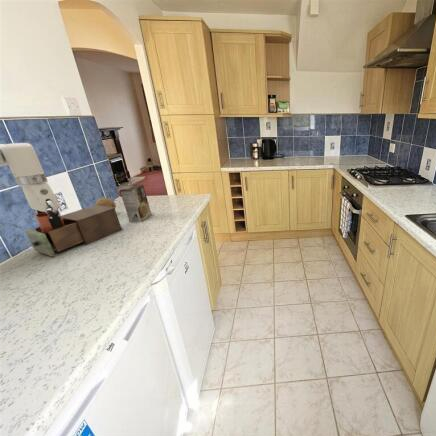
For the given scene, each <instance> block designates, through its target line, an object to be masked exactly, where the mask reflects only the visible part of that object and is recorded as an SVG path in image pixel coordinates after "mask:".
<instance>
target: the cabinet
mask: <svg viewBox="0 0 436 436" xmlns="http://www.w3.org/2000/svg"><path fill="white" fill-rule="evenodd" d="M61 217H62V219H65V220H69V221H73V222H77V225H78V227H79V229H80V232H81V234H82V237H83V239H84V242H81V243H80V244H83V245H90V244H92V243H94V242H96V241H98V240H101V239H103V238H105V237H108V236H111V235H112V234H115V233H117V232H120V231H123V228H122V226H121V225H122V224H121V223H120V220H119V217H118V214H117V211H116V208H112V207H106V206H101V205H95V204H94V205H91V206H88V207H85V208H81V209H77V210H75V211H72V212H68V213H65V214H61Z"/></svg>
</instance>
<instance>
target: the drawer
mask: <svg viewBox="0 0 436 436" xmlns="http://www.w3.org/2000/svg"><path fill="white" fill-rule="evenodd" d="M63 222H64V224H65V226H64V227H61V228H58V229H55V230H52V231H49V232H48V233H43V232H42V230H41V228H40V226H39V225H38V226H37V227H34V230H33V229H31V228H27V229H24V233H25V234H26V236H27V238H28V240H29V242H30V244H31V246H32V248H33V250H34V252H37V253H40V254H43V255H46V256H50V257H53V256H56V254H55V252H57V253H59V252H61V251H62V252H63V251H64V250H67V249H68V248H71V247H74V246H76V245H79V244H82V243H81V242H84V239H83V237H82V234H81V232H80V229H79V227H78V225H77V222H73V221H69V220H65V219H63Z"/></svg>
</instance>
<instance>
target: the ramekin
mask: <svg viewBox="0 0 436 436" xmlns="http://www.w3.org/2000/svg"><path fill="white" fill-rule="evenodd" d="M51 212H52V211H51ZM51 212H49V213H50V214H51ZM58 212H59V215H60V218H61V221H62V223H63V226H61V227H64V226H65V224H64V222H63V219H62V217H61V216H62V214H61V212H60V210H58ZM34 218H35V220H36V222H37V224H38V227H39V226H40V228H41V230H42V232H43V233H48V232H49V231H52V230H55V229H58V228H61V227H58V228H55V229H53V228H52V226H51V224H50V222H49V220H48V219H50V218H49V217H48V216H47V214H46V213H45V212H42V213H39V214H37V215H36V214H35V215H34Z"/></svg>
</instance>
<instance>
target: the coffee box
mask: <svg viewBox="0 0 436 436" xmlns="http://www.w3.org/2000/svg"><path fill="white" fill-rule="evenodd" d="M144 186H145V185H144V184H130V185H128V186H126V187H124V188H122V189H119V190H118V191H119V194H120V197H121V199H122V203H123V205H124V208H125V212H126V215H127V218H128V221H129V222H143V221H145V220H146V219H147V218H148V217H150V216H152V211H151V207H150V204H149V201H148V197H147V193H146V191H145V187H144Z"/></svg>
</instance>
